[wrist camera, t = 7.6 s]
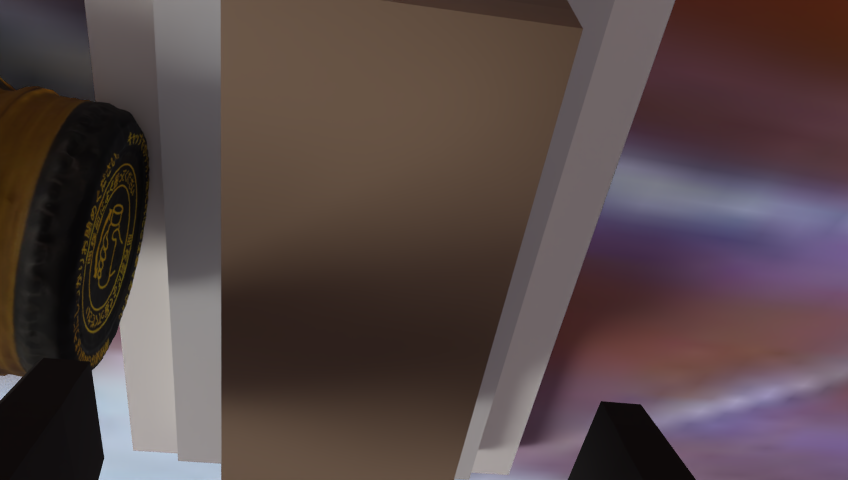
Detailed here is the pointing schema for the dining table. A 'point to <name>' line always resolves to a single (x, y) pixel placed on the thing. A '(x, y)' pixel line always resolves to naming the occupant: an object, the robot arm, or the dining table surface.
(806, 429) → the dining table surface
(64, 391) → the robot arm
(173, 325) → the notch ledge
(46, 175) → the condiment
